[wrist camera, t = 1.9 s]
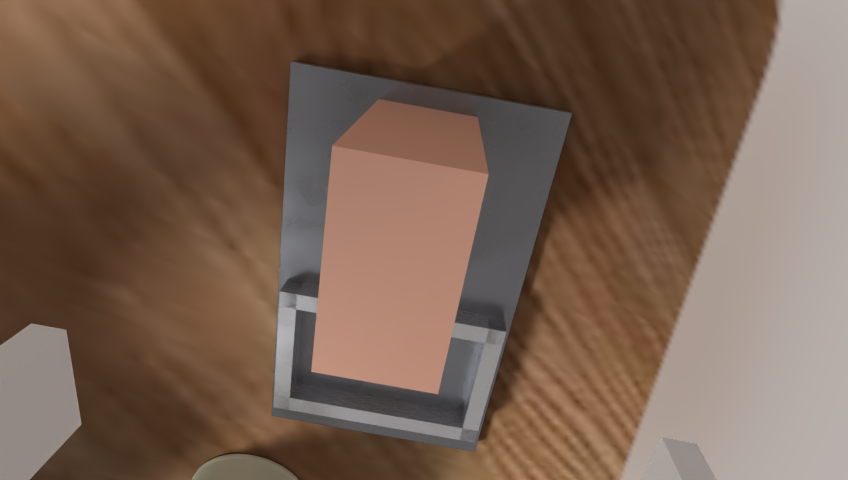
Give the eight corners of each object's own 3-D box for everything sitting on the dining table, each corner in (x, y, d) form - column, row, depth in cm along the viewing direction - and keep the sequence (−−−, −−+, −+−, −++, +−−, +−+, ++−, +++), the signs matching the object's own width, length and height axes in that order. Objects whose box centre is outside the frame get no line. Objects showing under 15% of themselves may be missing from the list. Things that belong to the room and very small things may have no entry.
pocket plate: (474, 442, 35) (475, 468, 33) (275, 407, 34) (264, 431, 32) (568, 110, 25) (578, 118, 23) (295, 60, 25) (281, 63, 23)
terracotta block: (444, 274, 28) (437, 394, 19) (358, 258, 28) (311, 371, 19) (477, 117, 25) (488, 174, 16) (378, 99, 25) (331, 145, 16)
